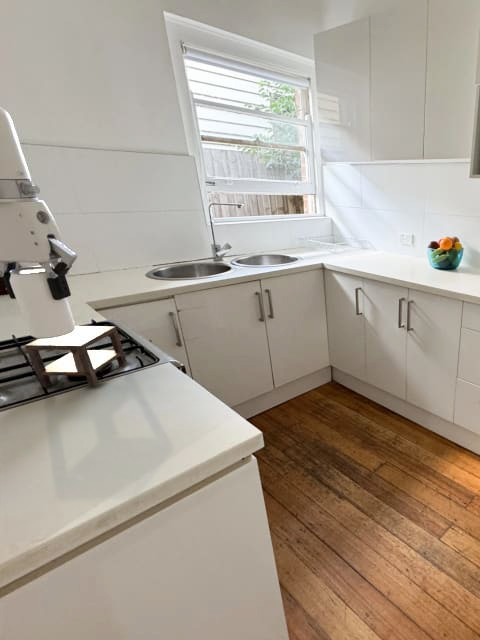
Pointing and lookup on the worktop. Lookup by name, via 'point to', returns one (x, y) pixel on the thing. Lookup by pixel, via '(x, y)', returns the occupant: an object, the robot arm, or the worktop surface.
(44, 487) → the worktop surface
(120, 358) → the shelf
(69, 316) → the can
